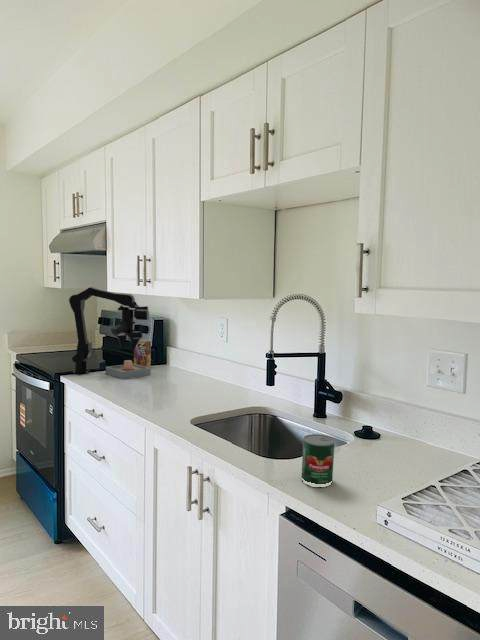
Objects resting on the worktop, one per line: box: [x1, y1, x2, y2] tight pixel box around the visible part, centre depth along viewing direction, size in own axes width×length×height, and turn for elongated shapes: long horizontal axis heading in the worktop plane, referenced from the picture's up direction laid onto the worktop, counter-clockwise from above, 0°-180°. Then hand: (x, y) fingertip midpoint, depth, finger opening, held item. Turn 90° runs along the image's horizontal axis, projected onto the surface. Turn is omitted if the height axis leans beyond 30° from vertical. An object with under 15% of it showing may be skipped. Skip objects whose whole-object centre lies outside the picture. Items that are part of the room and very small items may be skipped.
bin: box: [105, 363, 152, 380], centre depth 239 cm, size 16×16×4 cm
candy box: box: [133, 339, 152, 368], centre depth 256 cm, size 9×4×15 cm, turn 99°
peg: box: [123, 359, 133, 371], centre depth 239 cm, size 4×4×7 cm
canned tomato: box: [301, 433, 336, 484], centre depth 120 cm, size 8×8×11 cm
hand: (127, 350), depth 238 cm, fingers open, 9 cm apart
